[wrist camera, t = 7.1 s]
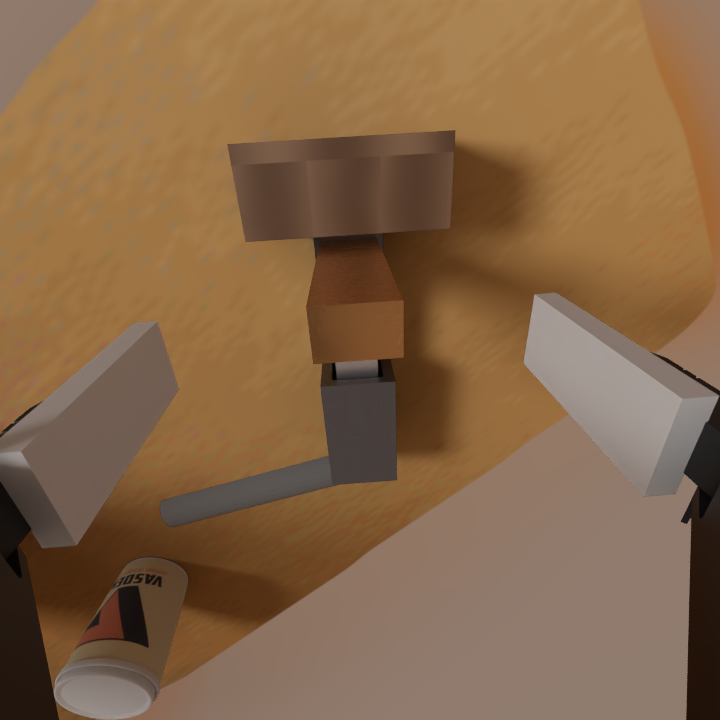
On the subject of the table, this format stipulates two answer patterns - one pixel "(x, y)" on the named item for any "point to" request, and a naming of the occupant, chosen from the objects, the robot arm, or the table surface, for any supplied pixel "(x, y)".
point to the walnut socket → (344, 185)
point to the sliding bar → (354, 306)
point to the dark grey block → (360, 425)
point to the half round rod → (247, 492)
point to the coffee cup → (125, 643)
